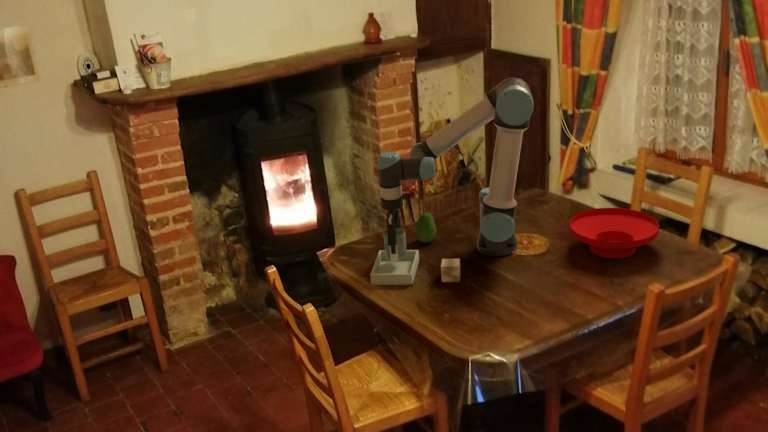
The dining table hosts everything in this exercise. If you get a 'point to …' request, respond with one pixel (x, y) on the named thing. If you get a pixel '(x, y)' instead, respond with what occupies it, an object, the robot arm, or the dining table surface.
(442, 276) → the beech block
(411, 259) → the tray
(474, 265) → the dining table surface
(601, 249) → the bowl
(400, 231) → the cup
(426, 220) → the avocado
